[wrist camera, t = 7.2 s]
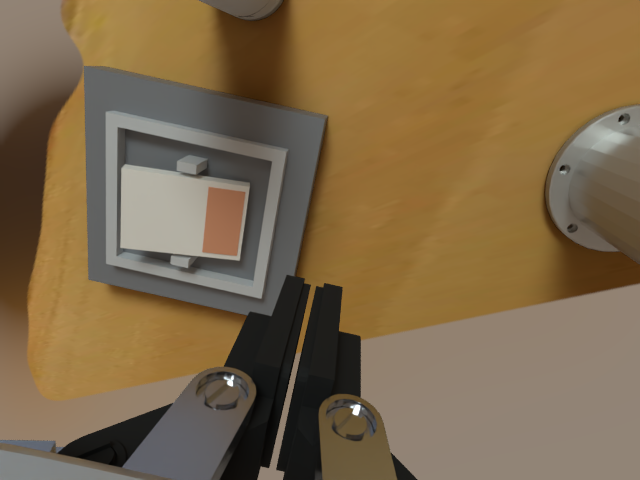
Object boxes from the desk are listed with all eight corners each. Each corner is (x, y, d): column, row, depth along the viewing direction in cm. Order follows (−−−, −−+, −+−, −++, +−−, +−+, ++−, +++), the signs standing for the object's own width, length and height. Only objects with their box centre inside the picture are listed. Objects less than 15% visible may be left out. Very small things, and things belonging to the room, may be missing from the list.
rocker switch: (249, 182, 36) (249, 187, 34) (239, 254, 38) (239, 261, 37) (125, 164, 33) (121, 168, 32) (124, 241, 36) (120, 248, 35)
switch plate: (328, 115, 36) (322, 122, 31) (289, 307, 44) (279, 339, 39) (105, 66, 36) (62, 65, 31) (105, 266, 44) (71, 292, 39)
